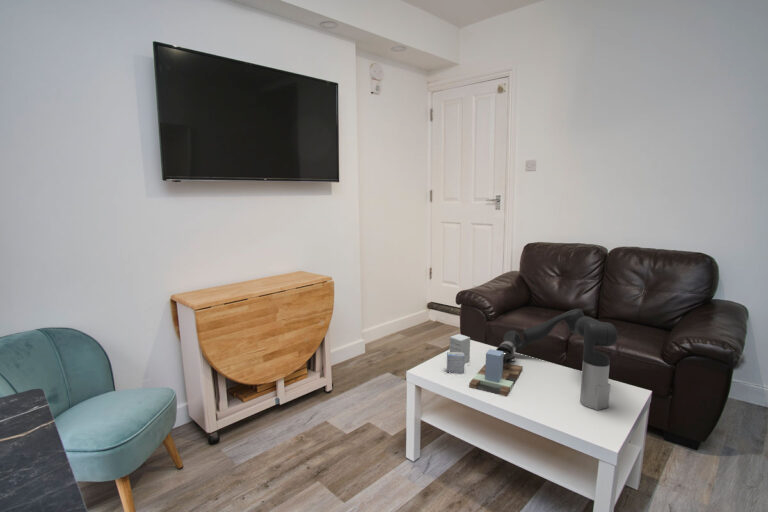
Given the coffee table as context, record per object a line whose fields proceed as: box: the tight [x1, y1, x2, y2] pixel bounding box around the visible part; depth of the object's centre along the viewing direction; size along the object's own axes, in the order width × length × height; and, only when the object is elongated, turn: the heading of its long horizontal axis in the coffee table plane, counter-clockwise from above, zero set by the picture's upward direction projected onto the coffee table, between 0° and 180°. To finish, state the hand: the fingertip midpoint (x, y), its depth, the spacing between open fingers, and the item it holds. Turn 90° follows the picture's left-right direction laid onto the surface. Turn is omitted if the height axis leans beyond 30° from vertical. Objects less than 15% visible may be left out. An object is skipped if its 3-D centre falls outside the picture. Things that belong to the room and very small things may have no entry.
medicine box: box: [446, 351, 465, 374], centre depth 188 cm, size 8×4×9 cm, turn 84°
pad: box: [472, 373, 514, 392], centre depth 175 cm, size 6×16×2 cm, turn 60°
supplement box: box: [449, 333, 471, 364], centre depth 200 cm, size 7×7×13 cm
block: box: [484, 348, 503, 383], centre depth 175 cm, size 6×6×12 cm
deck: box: [468, 363, 524, 397], centre depth 181 cm, size 30×16×2 cm, turn 150°
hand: (496, 363), depth 178 cm, fingers closed
